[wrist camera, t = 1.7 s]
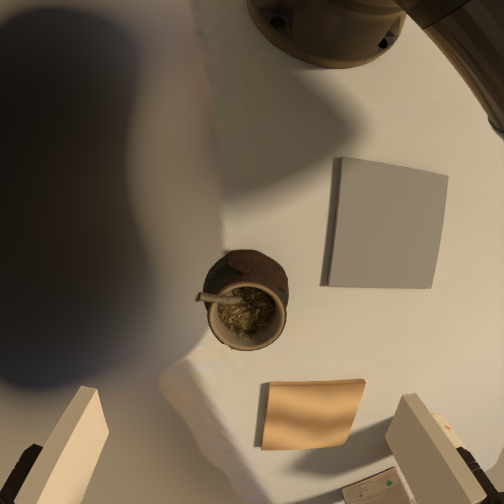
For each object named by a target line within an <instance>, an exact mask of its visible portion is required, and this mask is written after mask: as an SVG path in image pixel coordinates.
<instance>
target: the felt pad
mask: <svg viewBox="0 0 504 504" xmlns="http://www.w3.org/2000/svg"><path fill="white" fill-rule="evenodd" d="M447 184H448V176H445V175H441V174H436V173H431V172H427V171H422V170H417V169H412V168H407V167H402V166H396V165H391V164H385V163H379V162H373V161H367V160H361V159H354V158H347V157H341V160H340V174H339V185H338V197H337V207H336V217H335V226H334V235H333V243H332V251H331V259H330V267H329V274H328V281H327V285H328V287H355V288H410V289H431V287H432V282H433V277H434V273H435V268H436V263H437V257H438V252H439V246H440V240H441V234H442V227H443V220H444V212H445V204H446V195H447Z"/></svg>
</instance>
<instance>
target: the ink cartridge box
mask: <svg viewBox="0 0 504 504" xmlns="http://www.w3.org/2000/svg"><path fill="white" fill-rule="evenodd" d="M341 490H342V493H343V497H344V501H345V504H413V503H412V500H411V498H410V496H409V494H408V492H407V490H406V488H405V486H404V484H403V482H402V479H401V477H400V475H399V473H398V471H397V469H396V467H393V468H391V469H389V470H387V471H385V472H383V473H380V474H378V475H376V476H373V477H371V478H369V479H366V480H364V481H361V482H359V483H356V484H353V485H351V486H348V487H345V488H343V489H341Z"/></svg>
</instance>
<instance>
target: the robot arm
mask: <svg viewBox="0 0 504 504" xmlns="http://www.w3.org/2000/svg"><path fill="white" fill-rule="evenodd" d="M247 4H248V9H249V12H250V15H251V17H252V19H253V21H254V23H255V25H256V26H257V27H258V29H259V30H260V31H261V33H262V34H263V35H264V36H265V37H266V38H267V39H268V40H269V41H270V42H272V43H273V44H274V45H275V46H277V47H278V48H279V49H281V50H282V51H284V52H286V53H287V54H289V55H291V56H293V57H295V58H297V59H300V60H302V61H305V62H308V63H311V64H314V65H318V66H323V67H329V68H351V67H357V66H361V65H364V64H367V63H369V62H372V61H373V60H375V59H377V58H378V57H379V56H381V55H382V54H383V53H385V52H386V51H387V50H389V49H390V48H391V47H392V46H393V44H394V43H395V42H396V40H397V39H398V37H399V35H400V33H401V30H402V27H403V24H404V21H405V18H406V15H407V14H408V15H409V16H410V17H411V18H412V19H413V20H414V21H415V22H416V23H417V24H418V25H419V27H420V28H421V29H422V30H423V31H424V32H425V33H426V34H427V36H428V37H429V38H430V39H431V40H432V41H433V42H434V43H435V44H436V46H437V47H438V48H439V49H440V50H441V51H442V53H443V54H444V55H445V56H446V57H447V59H448V60H449V61H450V62H451V64H452V65H453V66H454V68H455V69H456V70H457V72H458V73H459V74H460V76H461V77H462V78H463V80H464V81H465V82H466V84H467V85H468V87H469V88H470V89H471V91H472V92H473V94H474V95H475V97H476V98H477V100H478V101H479V103H480V104H481V106H482V107H483V109H484V111H485V112H486V114H487V115H488V121H489V123H490V125H491V127H492V129H493V130H494V131H495V132H496V134H497V135H499V136H500V137H501V138H502V140H503V141H504V0H247ZM108 434H109V431H108V428H107V425H106V421H105V418H104V414H103V411H102V407H101V403H100V400H99V396H98V392H97V389H94V388H89V387H84V386H81V387H80V389H79V390H78V392H77V393H76V395H75V396H74V398H73V400H72V401H71V403H70V404H69V406H68V408H67V409H66V411H65V413H64V414H63V416H62V417H61V419H60V421H59V422H58V424H57V426H56V427H55V429H54V431H53V432H52V434H51V436H50V437H49V439H48V441H47V442H46V444H45V446H44V447H41V446H39V445H36V444H33V445H32V446H30V447H29V448H27V449H26V450H25V451H24V452H23V454H22V455H21V457H20V459H19V462H17V464H16V466H15V469H13V470H12V472H11V474H10V475H9V477H8V479H7V481H6V482H5V484H4V486H3V488H2V490H1V491H0V504H81V501H82V498H83V496H84V493H85V491H86V488H87V486H88V483H89V480H90V478H91V475H92V473H93V470H94V468H95V465H96V463H97V460H98V458H99V455H100V453H101V451H102V448H103V446H104V443H105V441H106V439H107V436H108ZM385 438H386V440H387V442H388V444H389V446H390V448H391V450H392V452H393V454H394V456H395V458H396V460H397V462H398V464H399V466H400V468H401V470H402V472H403V474H404V476H405V478H406V480H407V482H408V484H409V486H410V488H411V490H412V492H413V494H414V496H415V498H416V500H417V502H418V504H504V492H498V491H497V490H496V489H495V488H494V486H493V485H492V483H491V482H490V480H489V479H488V477H487V476H486V474H485V473H484V472H483V470H482V469H480V466H479V464H478V463H477V462H476V460H475V459H474V457H473V456H472V455H471V453H470V452H469V451H467V450H466V449H464V448H463V447H462V446H460V447H458V448H455V447H454V446H453V444H452V443H451V441H450V440H449V438H448V437H447V436H446V434H445V433H444V431H443V430H442V429H441V427H440V426H439V424H438V423H437V422H436V420H435V419H434V417H433V416H432V415H431V413H430V412H429V410H428V409H427V408H426V406H425V405H424V404H423V402H422V401H421V399H420V398H419V397H418V395H417V394H416V393H414V394H407V395H402V397H401V400H400V402H399V405H398V407H397V410H396V412H395V414H394V417H393V419H392V422H391V424H390V426H389V428H388V431H387V433H386V435H385Z"/></svg>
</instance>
